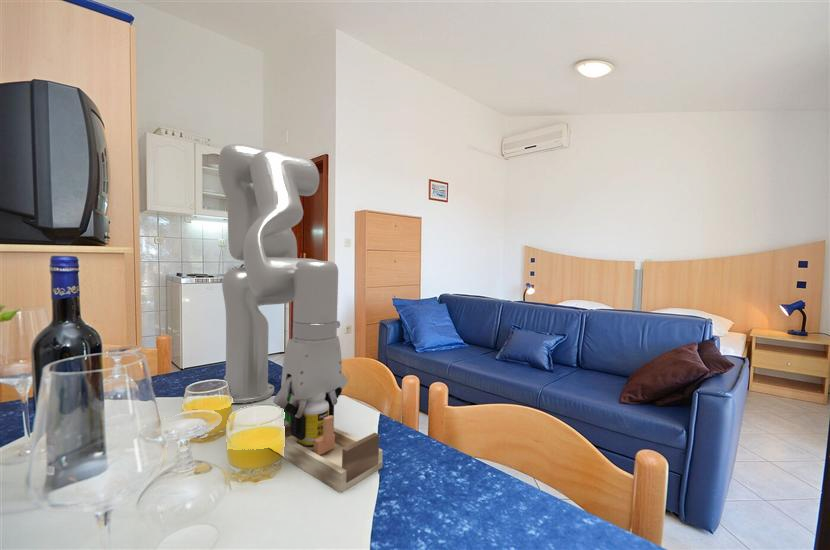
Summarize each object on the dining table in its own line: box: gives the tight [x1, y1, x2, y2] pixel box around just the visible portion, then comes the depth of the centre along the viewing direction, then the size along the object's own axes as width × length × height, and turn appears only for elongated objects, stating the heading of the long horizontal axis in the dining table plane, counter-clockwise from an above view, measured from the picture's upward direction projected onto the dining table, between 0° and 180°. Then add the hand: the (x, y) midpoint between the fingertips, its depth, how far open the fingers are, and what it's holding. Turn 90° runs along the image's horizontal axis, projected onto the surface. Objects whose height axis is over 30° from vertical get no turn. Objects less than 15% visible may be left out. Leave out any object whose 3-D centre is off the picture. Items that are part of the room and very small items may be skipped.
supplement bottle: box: [297, 393, 329, 451], centre depth 67 cm, size 5×5×10 cm
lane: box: [283, 422, 384, 494], centre depth 65 cm, size 20×9×6 cm, turn 52°
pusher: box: [314, 415, 335, 455], centre depth 64 cm, size 2×4×6 cm, turn 142°
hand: (312, 430), depth 67 cm, fingers closed on supplement bottle, 5 cm apart
